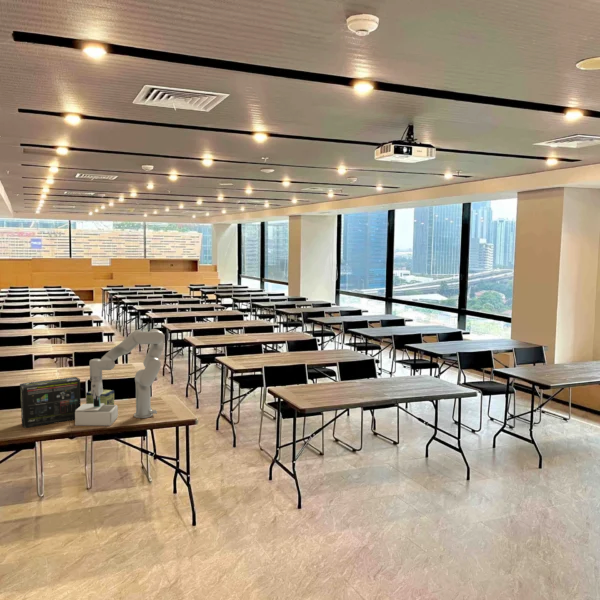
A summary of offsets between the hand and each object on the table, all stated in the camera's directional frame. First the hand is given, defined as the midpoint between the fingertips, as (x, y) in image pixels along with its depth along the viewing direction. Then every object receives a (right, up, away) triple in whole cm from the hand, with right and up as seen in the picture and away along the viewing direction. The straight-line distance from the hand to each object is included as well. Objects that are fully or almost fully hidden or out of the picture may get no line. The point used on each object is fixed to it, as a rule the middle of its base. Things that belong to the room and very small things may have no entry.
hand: (97, 405), depth 370 cm
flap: (-4, -1, 0) cm, 5 cm away
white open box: (-1, -11, +1) cm, 11 cm away
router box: (-30, -11, 0) cm, 31 cm away
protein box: (-4, -9, +19) cm, 21 cm away
